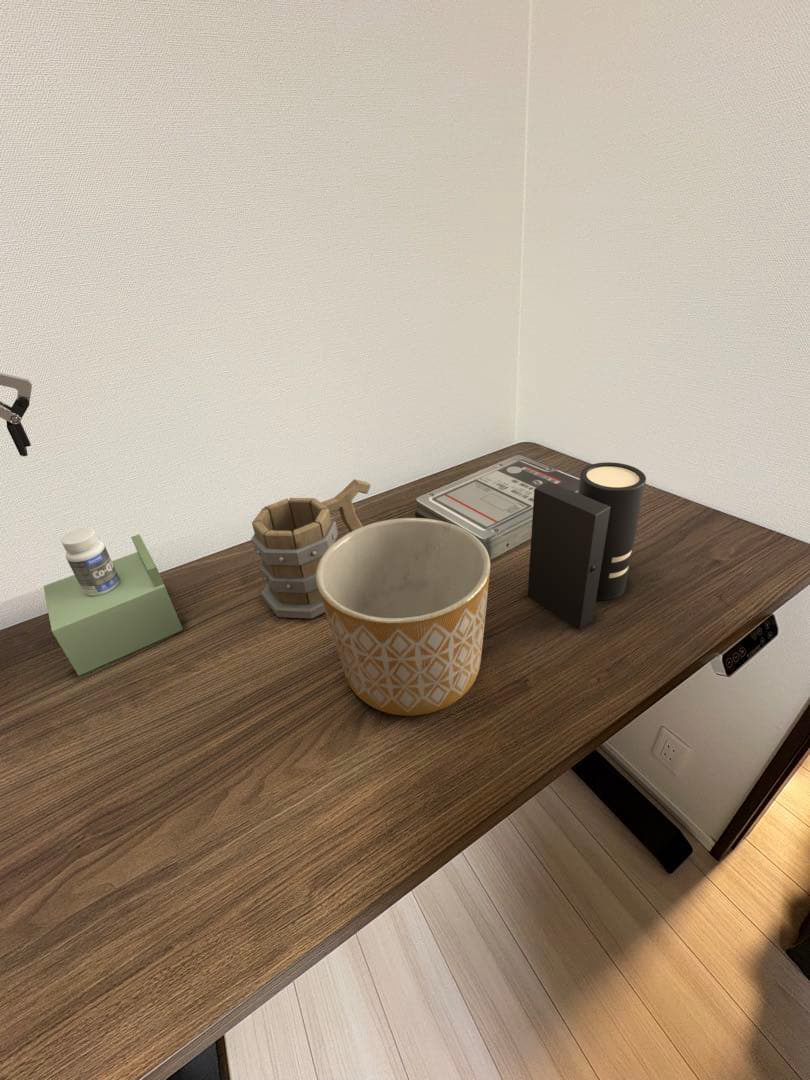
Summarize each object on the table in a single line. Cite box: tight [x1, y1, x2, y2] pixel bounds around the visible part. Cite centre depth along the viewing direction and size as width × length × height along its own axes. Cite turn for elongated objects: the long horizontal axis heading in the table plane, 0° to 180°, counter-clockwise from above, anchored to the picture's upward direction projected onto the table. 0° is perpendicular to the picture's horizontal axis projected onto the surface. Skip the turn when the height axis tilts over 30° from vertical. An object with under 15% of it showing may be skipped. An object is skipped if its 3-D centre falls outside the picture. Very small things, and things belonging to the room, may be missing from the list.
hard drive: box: [414, 454, 580, 561], centre depth 96 cm, size 18×27×4 cm
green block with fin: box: [43, 534, 184, 677], centre depth 75 cm, size 14×12×11 cm
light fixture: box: [526, 461, 647, 630], centre depth 72 cm, size 10×14×18 cm
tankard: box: [250, 478, 372, 620], centre depth 80 cm, size 20×13×15 cm, turn 126°
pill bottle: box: [61, 527, 120, 596], centre depth 72 cm, size 5×5×8 cm
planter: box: [316, 517, 491, 717], centre depth 63 cm, size 19×19×16 cm
